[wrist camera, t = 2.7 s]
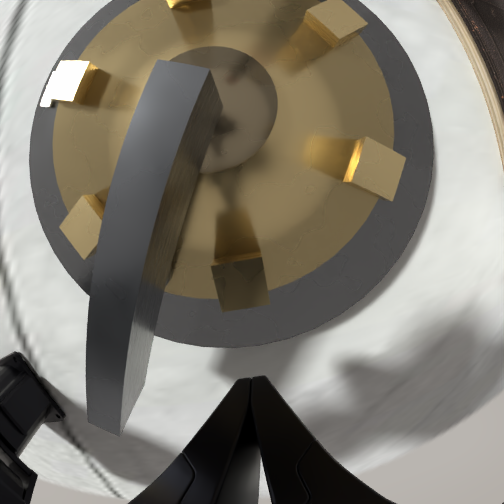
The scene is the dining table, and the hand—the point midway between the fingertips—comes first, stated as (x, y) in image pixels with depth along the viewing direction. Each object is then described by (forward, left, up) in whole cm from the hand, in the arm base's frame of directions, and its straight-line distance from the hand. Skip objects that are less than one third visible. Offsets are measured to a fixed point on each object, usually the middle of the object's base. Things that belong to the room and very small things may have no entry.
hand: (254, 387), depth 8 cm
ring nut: (+2, +8, -4) cm, 9 cm away
